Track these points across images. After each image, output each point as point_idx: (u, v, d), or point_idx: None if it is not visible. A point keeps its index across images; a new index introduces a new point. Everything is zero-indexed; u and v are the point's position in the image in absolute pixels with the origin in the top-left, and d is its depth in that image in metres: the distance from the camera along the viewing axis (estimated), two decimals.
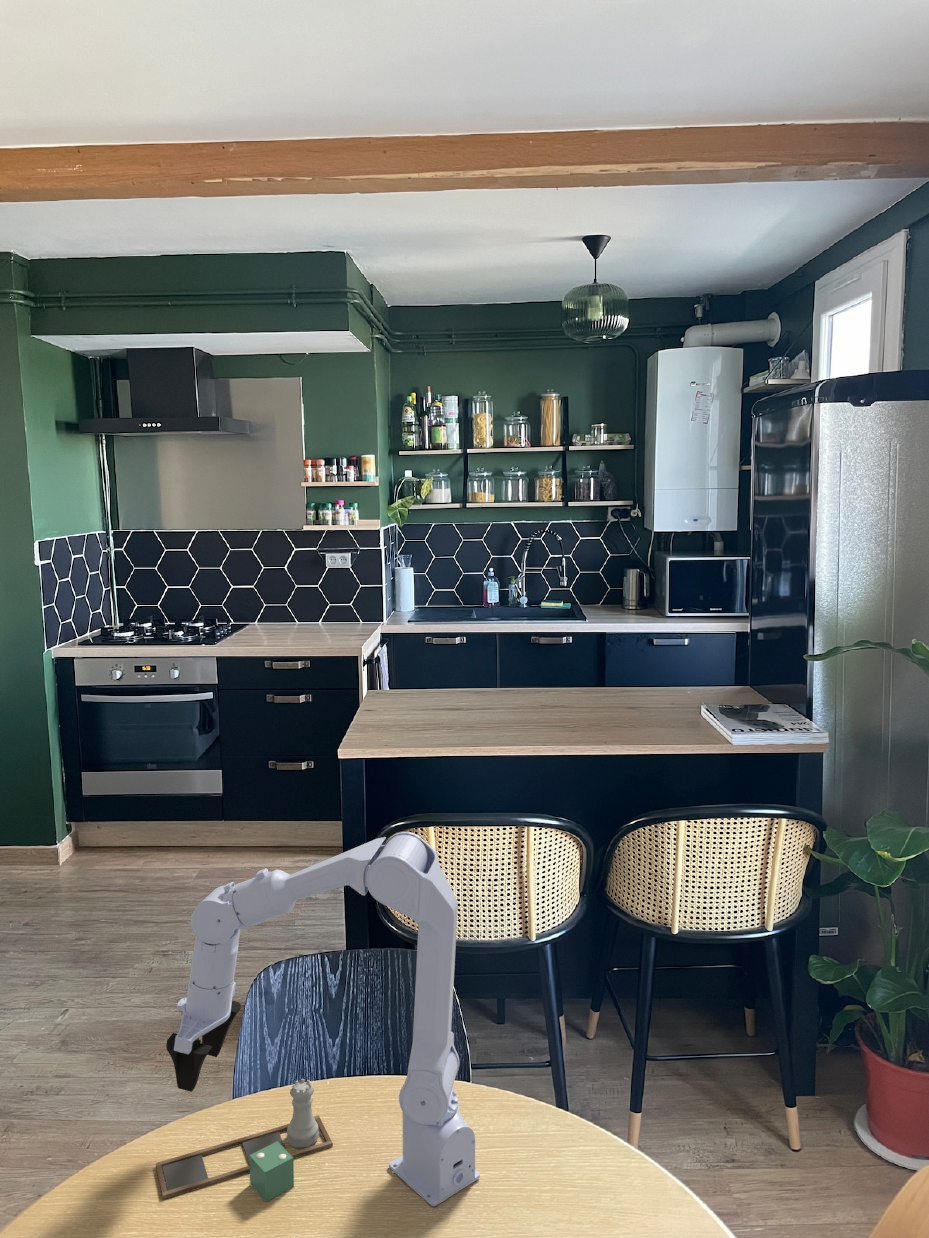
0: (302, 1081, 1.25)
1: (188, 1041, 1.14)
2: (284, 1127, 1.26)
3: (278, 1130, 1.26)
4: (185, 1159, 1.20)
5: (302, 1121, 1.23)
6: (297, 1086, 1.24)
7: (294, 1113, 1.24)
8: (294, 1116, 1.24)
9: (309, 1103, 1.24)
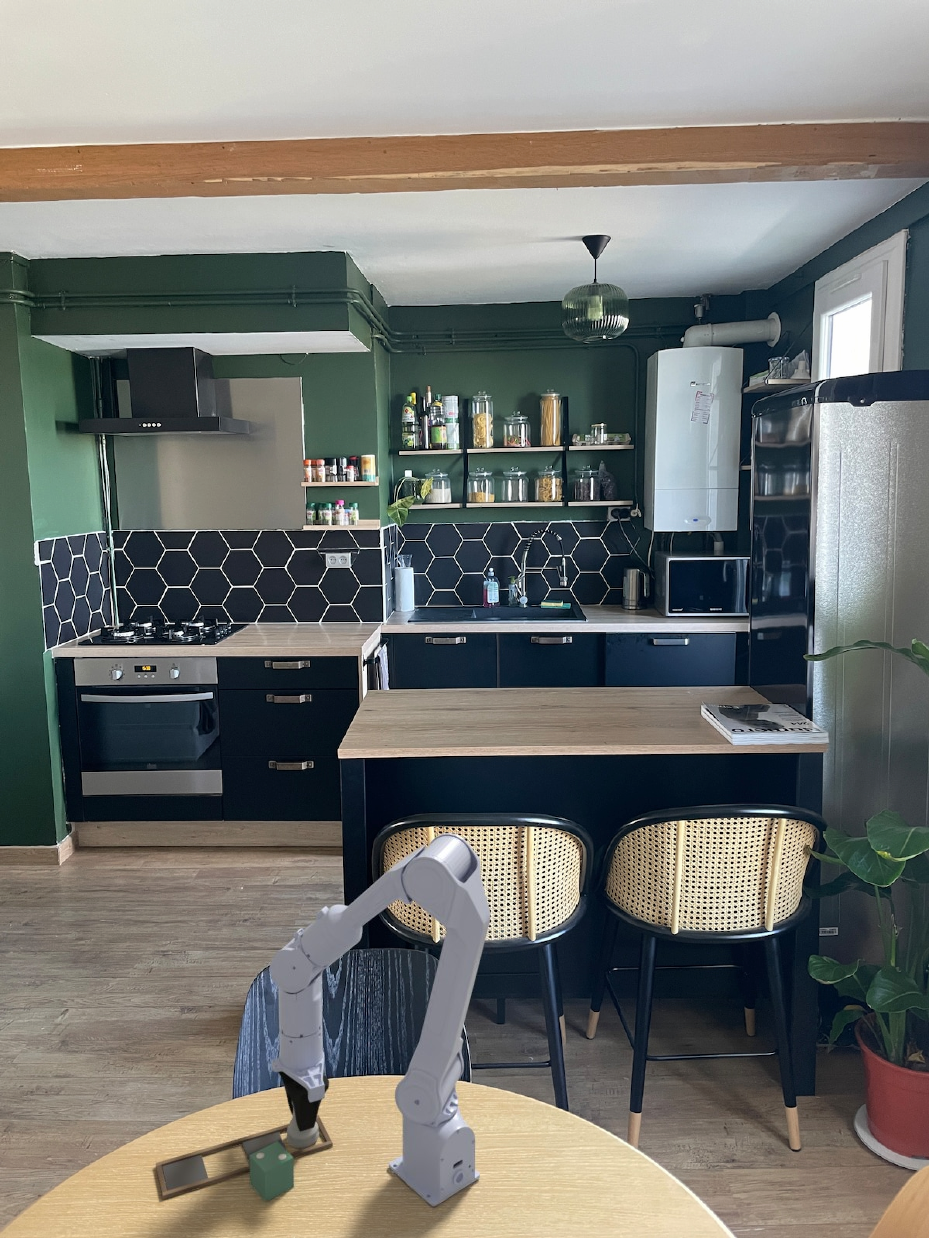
0: None
1: (323, 1086, 1.17)
2: (284, 1127, 1.26)
3: (278, 1130, 1.26)
4: (185, 1159, 1.20)
5: None
6: None
7: (294, 1113, 1.24)
8: (294, 1116, 1.24)
9: None
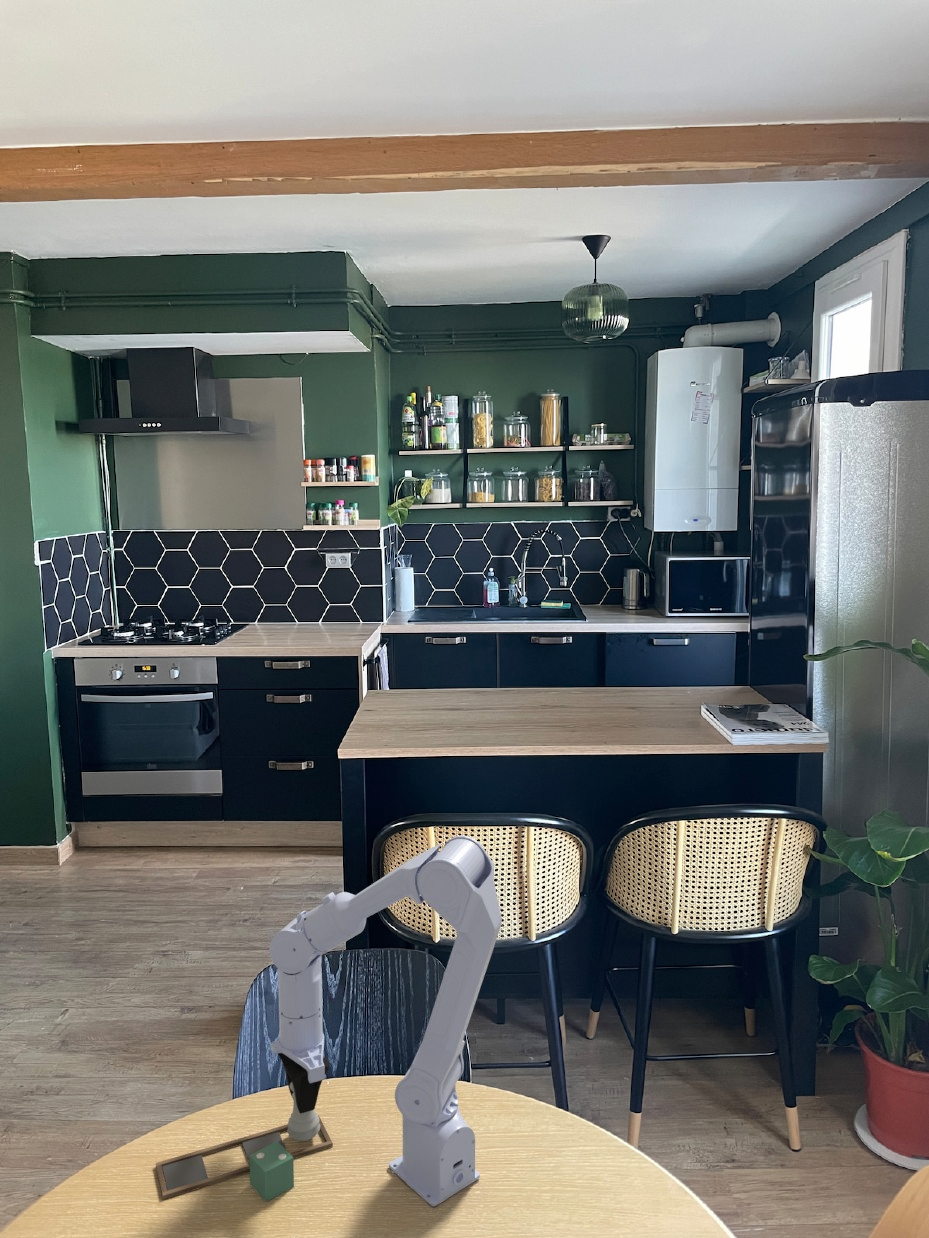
0: None
1: (323, 1067, 1.17)
2: (284, 1127, 1.26)
3: (278, 1130, 1.26)
4: (185, 1159, 1.20)
5: (302, 1115, 1.23)
6: None
7: (294, 1106, 1.24)
8: (294, 1109, 1.24)
9: None
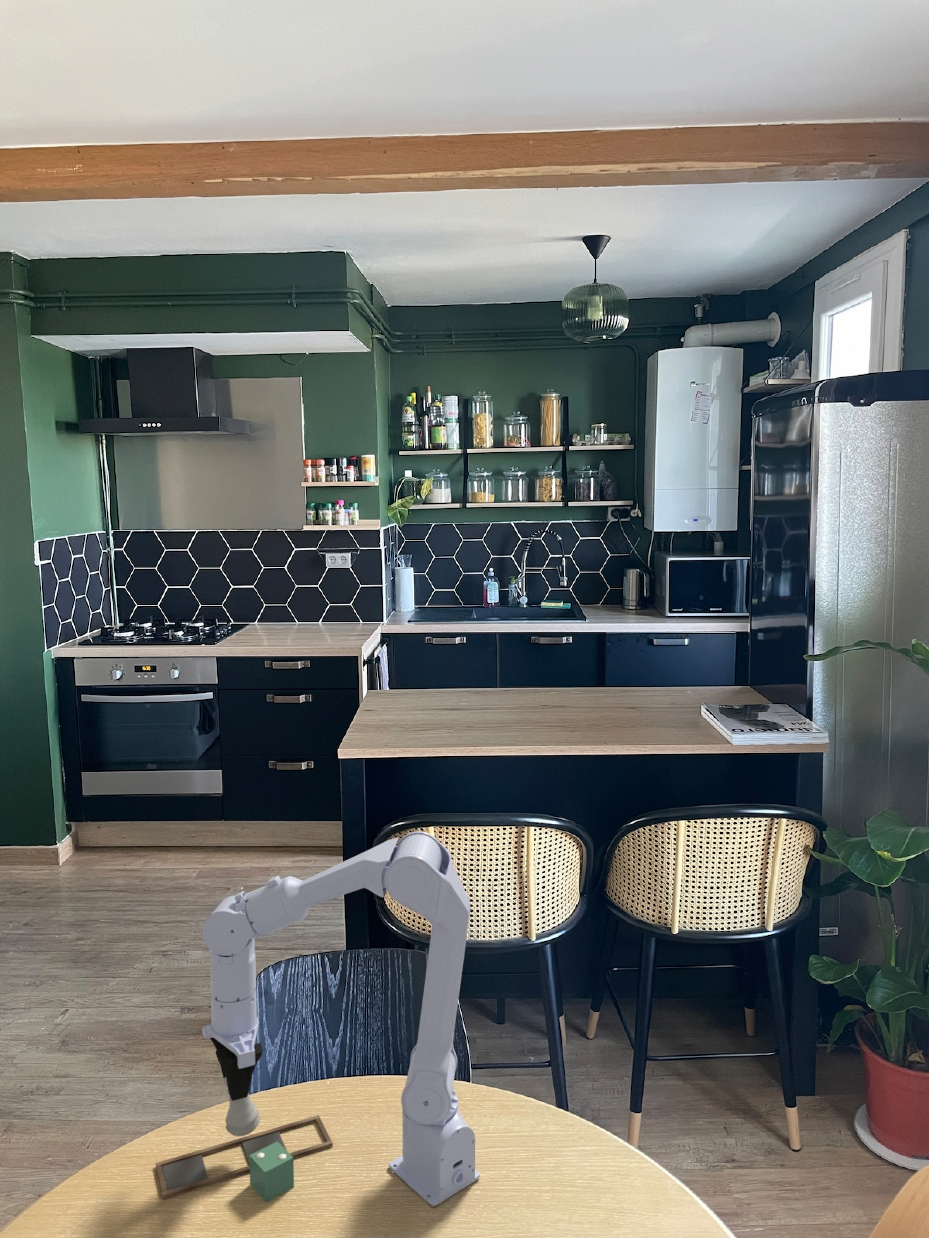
0: None
1: (253, 1052, 1.13)
2: (284, 1127, 1.26)
3: (278, 1130, 1.26)
4: (185, 1159, 1.20)
5: (239, 1109, 1.19)
6: None
7: (230, 1101, 1.20)
8: (230, 1104, 1.20)
9: None
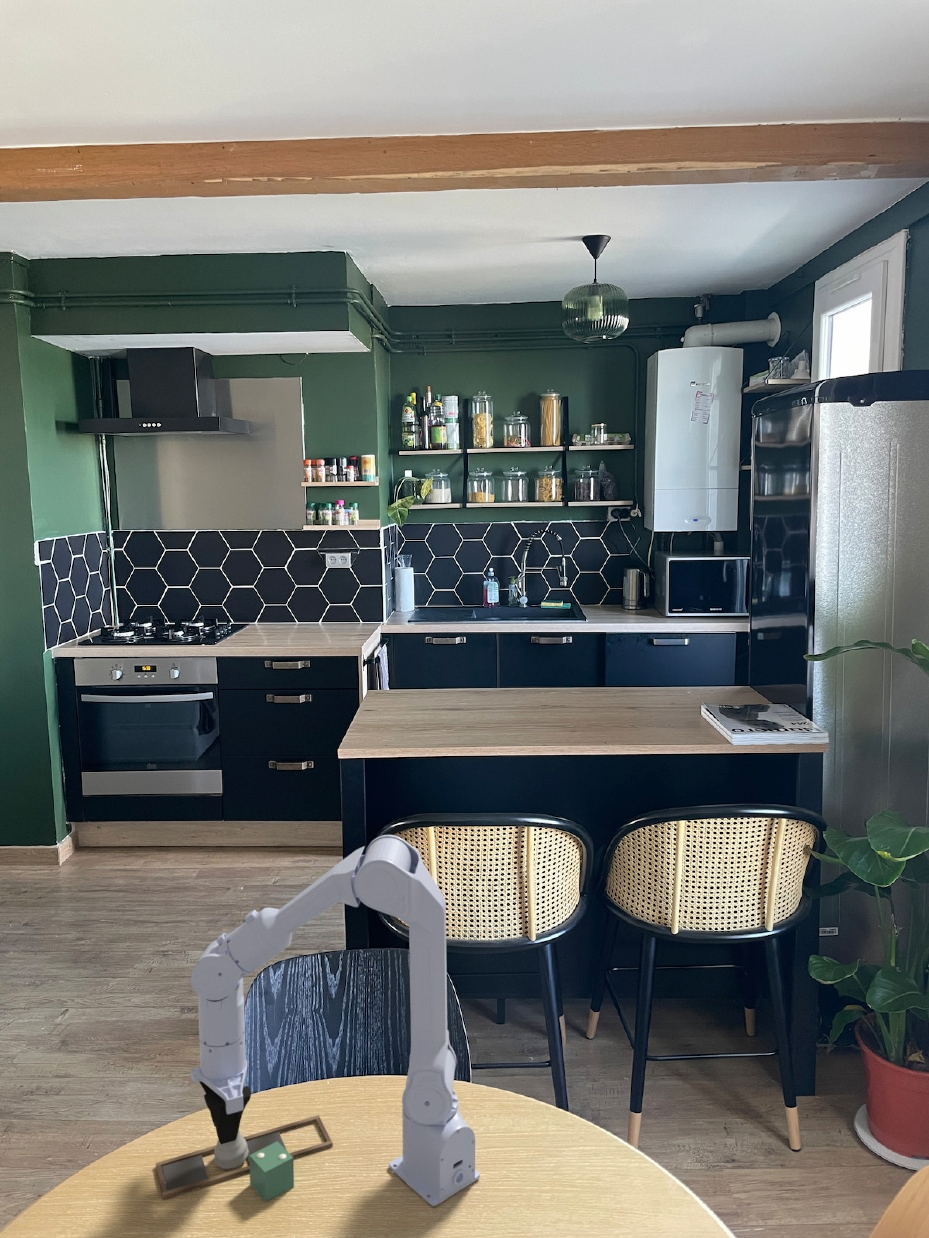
0: None
1: (241, 1097, 1.13)
2: (284, 1127, 1.26)
3: (278, 1130, 1.26)
4: (185, 1159, 1.20)
5: (228, 1142, 1.19)
6: None
7: None
8: None
9: None
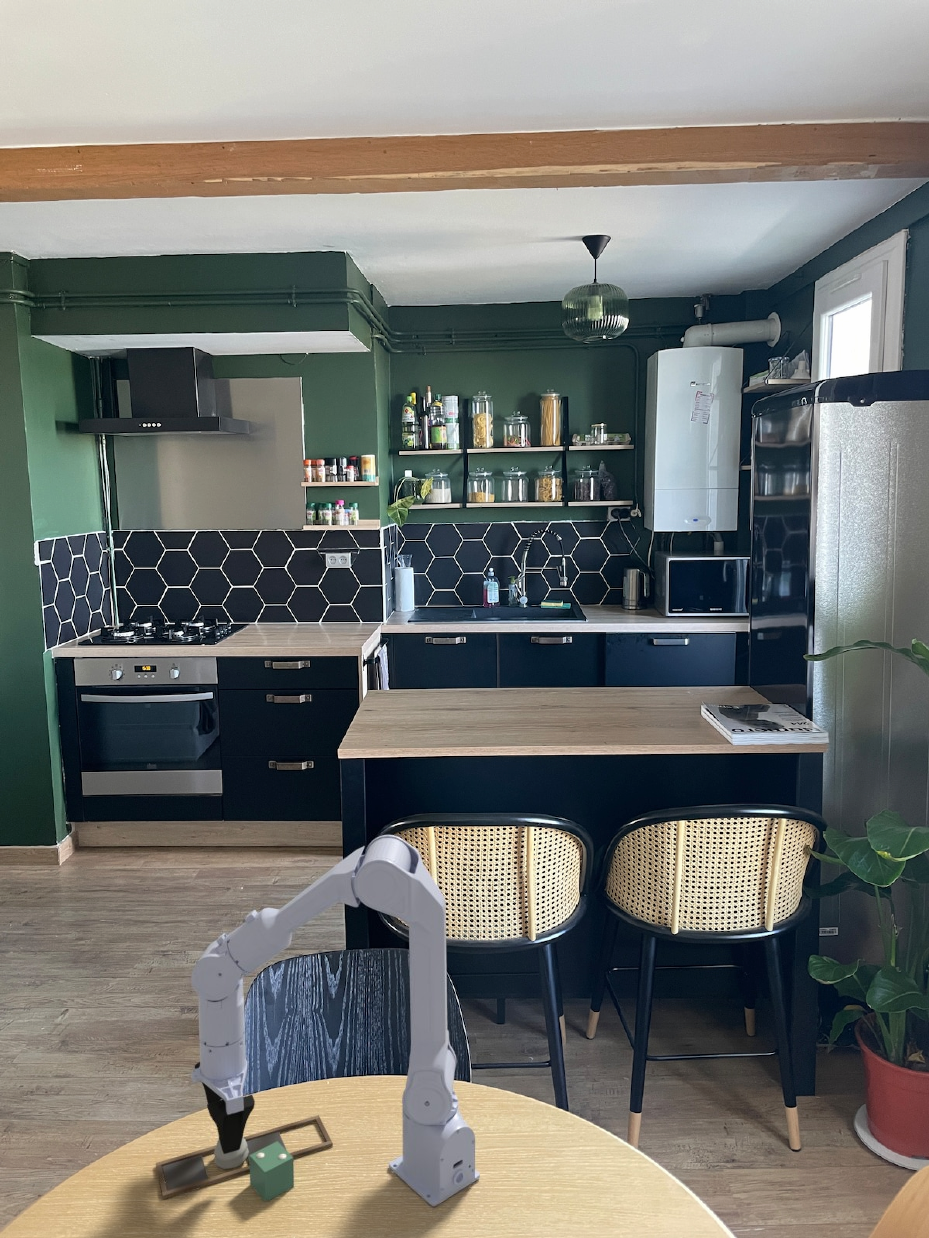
0: None
1: (241, 1097, 1.13)
2: (284, 1127, 1.26)
3: (278, 1130, 1.26)
4: (185, 1159, 1.20)
5: None
6: None
7: None
8: None
9: None
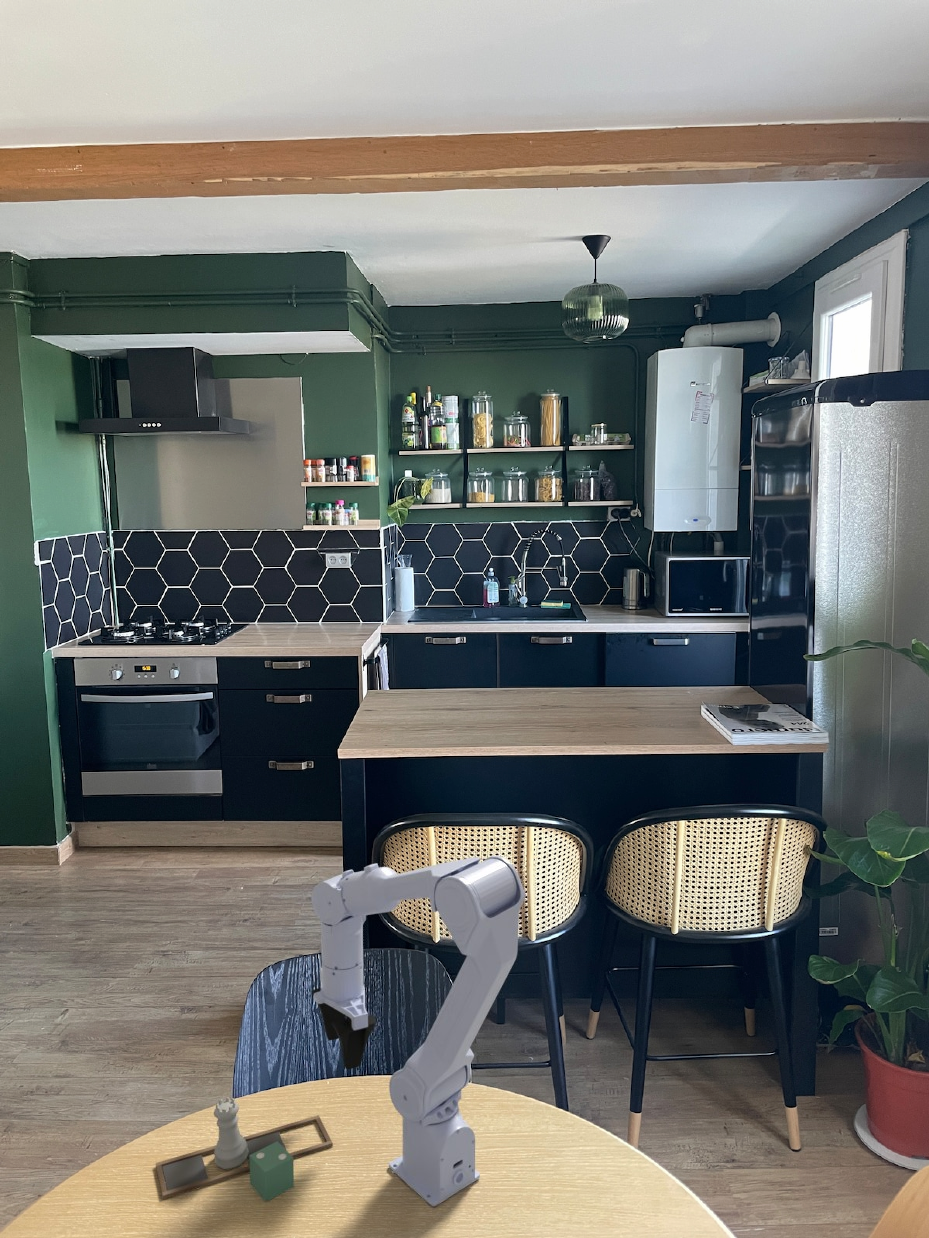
0: (227, 1100, 1.21)
1: (366, 1014, 1.21)
2: (284, 1127, 1.26)
3: (278, 1130, 1.26)
4: (185, 1159, 1.20)
5: (228, 1141, 1.19)
6: (221, 1105, 1.20)
7: (219, 1133, 1.20)
8: (220, 1136, 1.19)
9: (234, 1122, 1.19)
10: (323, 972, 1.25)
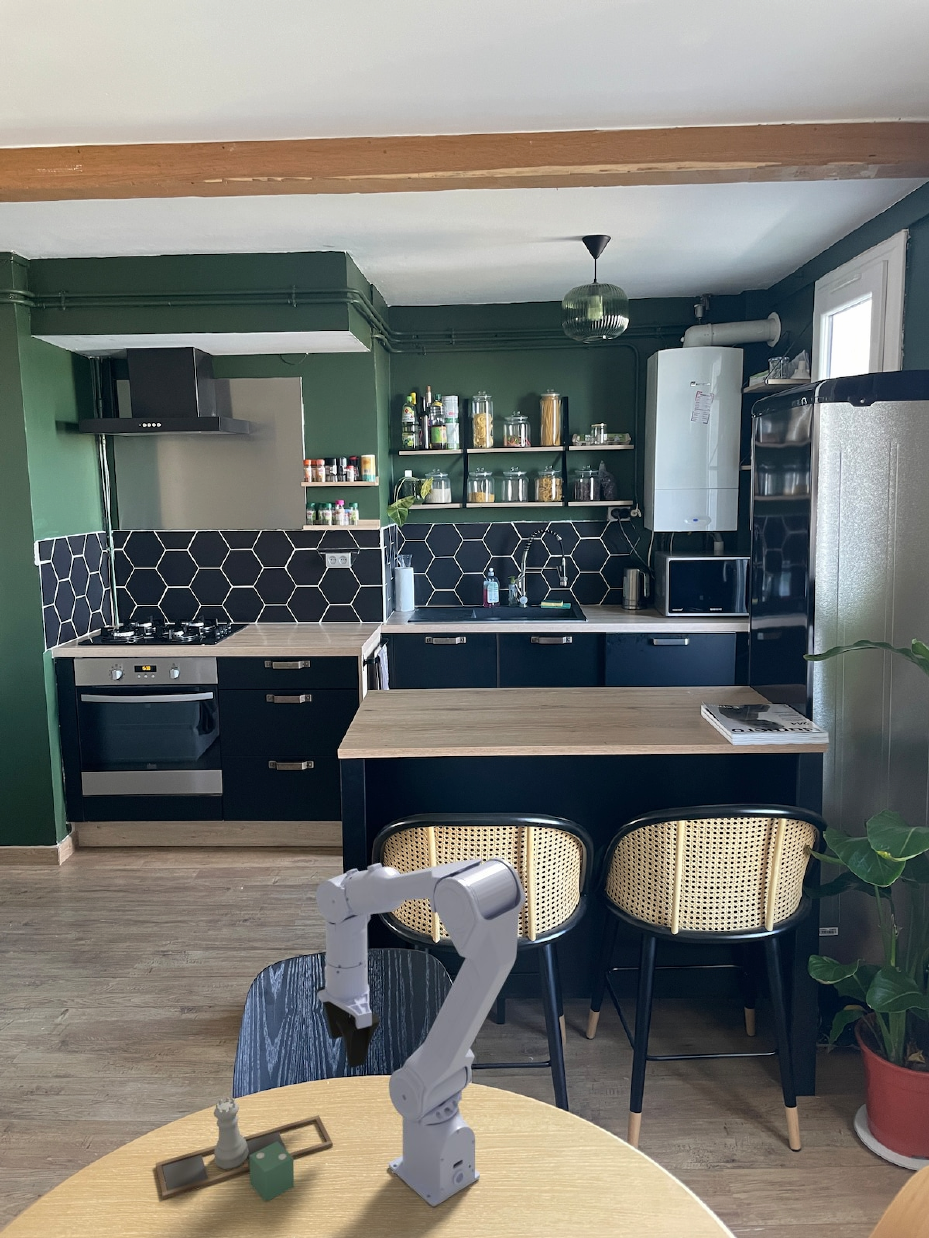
0: (227, 1100, 1.21)
1: (370, 1013, 1.22)
2: (284, 1127, 1.26)
3: (278, 1130, 1.26)
4: (185, 1159, 1.20)
5: (228, 1141, 1.19)
6: (221, 1105, 1.20)
7: (219, 1133, 1.20)
8: (220, 1136, 1.19)
9: (234, 1122, 1.19)
10: (327, 970, 1.26)
